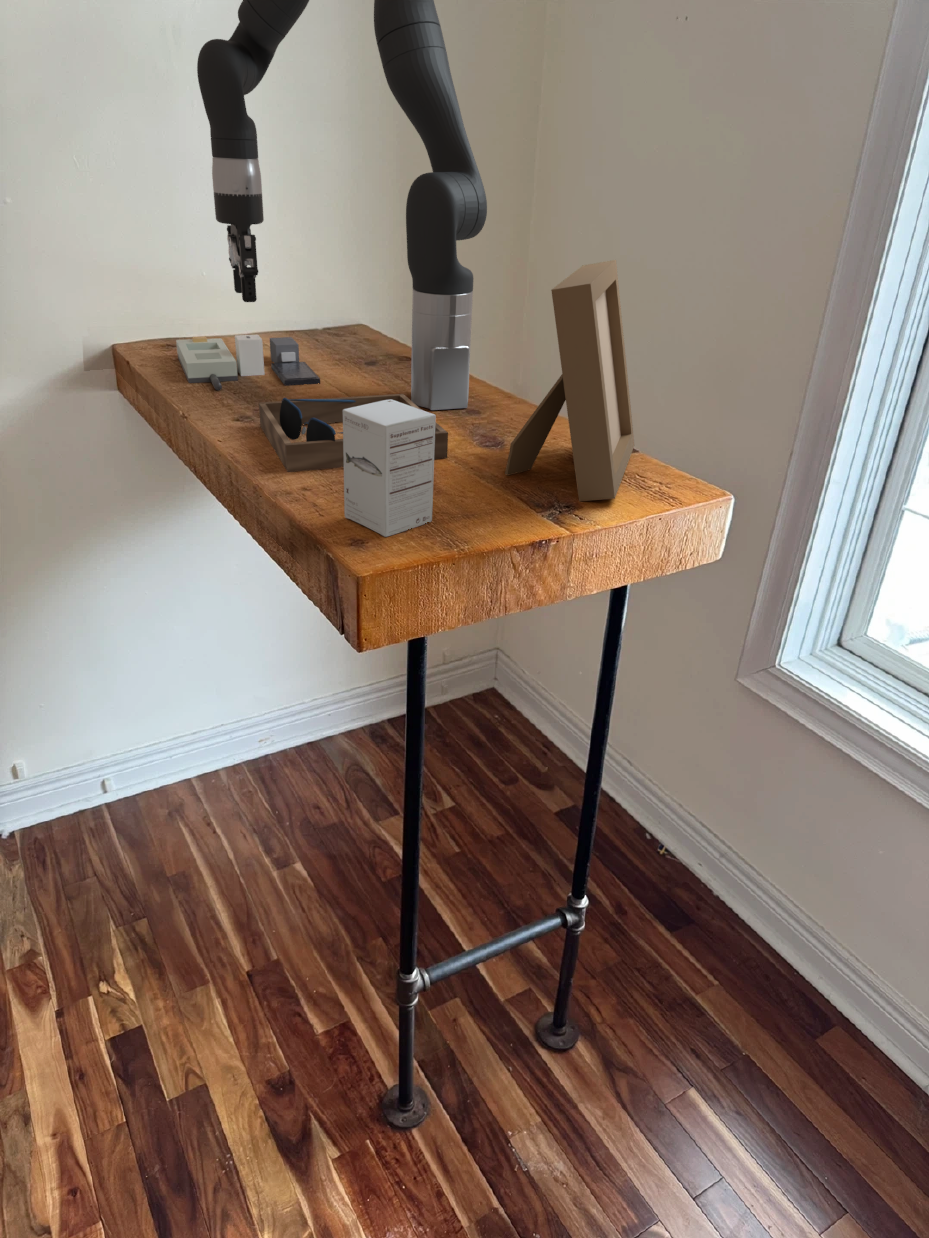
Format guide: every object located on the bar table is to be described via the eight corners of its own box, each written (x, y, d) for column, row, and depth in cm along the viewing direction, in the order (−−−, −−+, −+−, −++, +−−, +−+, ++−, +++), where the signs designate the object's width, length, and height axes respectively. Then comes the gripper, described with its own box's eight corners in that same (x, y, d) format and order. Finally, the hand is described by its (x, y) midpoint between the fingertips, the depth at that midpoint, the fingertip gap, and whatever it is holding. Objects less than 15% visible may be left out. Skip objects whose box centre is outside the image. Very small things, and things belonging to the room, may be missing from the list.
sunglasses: (276, 429, 126) (278, 394, 124) (366, 429, 134) (370, 396, 132) (329, 467, 114) (332, 429, 112) (425, 464, 122) (430, 428, 120)
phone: (320, 385, 150) (320, 378, 149) (285, 387, 148) (284, 379, 147) (304, 368, 160) (304, 361, 159) (271, 370, 158) (271, 362, 157)
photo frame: (633, 451, 125) (660, 263, 113) (613, 506, 107) (642, 288, 95) (531, 438, 128) (546, 254, 116) (494, 489, 110) (508, 276, 98)
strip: (243, 389, 144) (241, 366, 143) (193, 392, 142) (190, 368, 140) (222, 356, 164) (220, 335, 162) (177, 358, 161) (175, 336, 159)
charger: (264, 375, 153) (262, 339, 150) (241, 376, 152) (238, 340, 149) (260, 369, 157) (257, 334, 154) (237, 370, 155) (234, 335, 152)
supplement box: (342, 518, 100) (339, 408, 94) (392, 503, 105) (392, 397, 99) (384, 539, 96) (384, 425, 89) (434, 522, 100) (437, 412, 94)
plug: (300, 368, 159) (299, 345, 157) (278, 369, 158) (276, 346, 156) (292, 359, 165) (291, 337, 163) (270, 360, 163) (269, 338, 161)
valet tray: (447, 458, 119) (448, 432, 118) (287, 472, 112) (286, 445, 110) (402, 416, 135) (403, 393, 133) (260, 426, 128) (258, 402, 126)
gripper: (269, 194, 136) (275, 305, 144) (254, 187, 147) (260, 289, 155) (219, 193, 133) (228, 305, 141) (207, 186, 145) (216, 290, 153)
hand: (245, 297), depth 148 cm, fingers open, 8 cm apart
